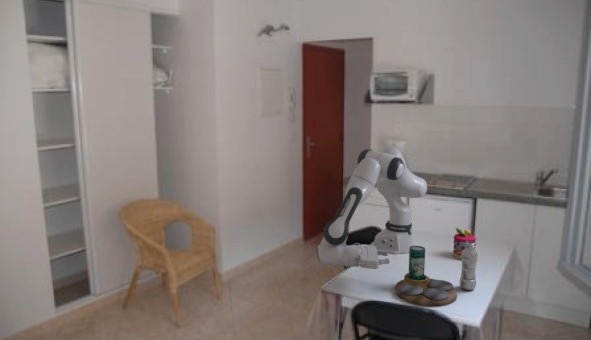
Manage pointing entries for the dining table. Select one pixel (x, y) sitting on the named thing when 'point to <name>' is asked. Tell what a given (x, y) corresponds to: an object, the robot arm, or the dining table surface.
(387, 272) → the dining table surface
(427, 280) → the wooden stone platter
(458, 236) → the cake
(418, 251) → the can
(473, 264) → the plastic bottle
